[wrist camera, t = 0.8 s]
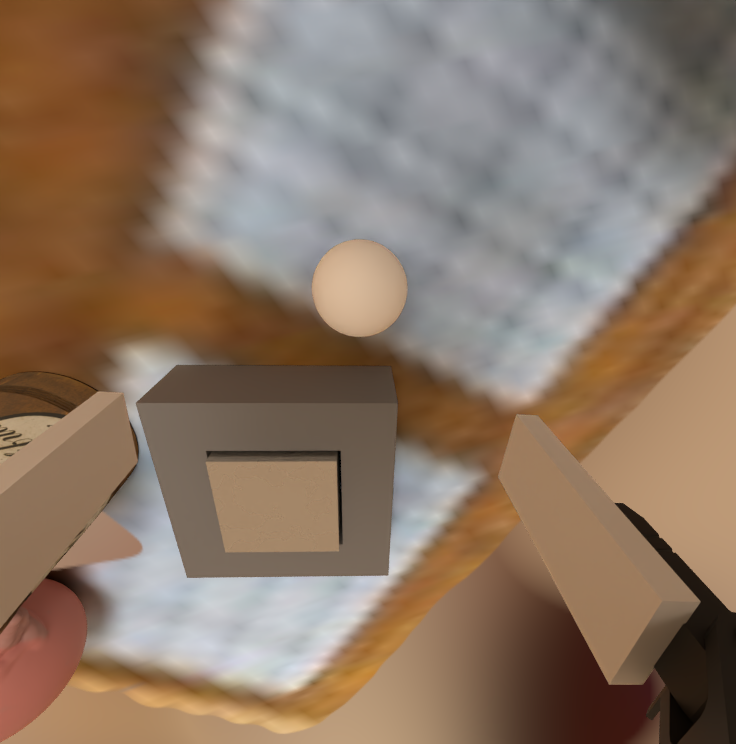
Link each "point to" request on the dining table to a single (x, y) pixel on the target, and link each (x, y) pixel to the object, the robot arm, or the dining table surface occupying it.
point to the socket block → (275, 433)
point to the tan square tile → (276, 500)
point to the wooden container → (40, 422)
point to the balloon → (39, 654)
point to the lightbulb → (359, 288)
